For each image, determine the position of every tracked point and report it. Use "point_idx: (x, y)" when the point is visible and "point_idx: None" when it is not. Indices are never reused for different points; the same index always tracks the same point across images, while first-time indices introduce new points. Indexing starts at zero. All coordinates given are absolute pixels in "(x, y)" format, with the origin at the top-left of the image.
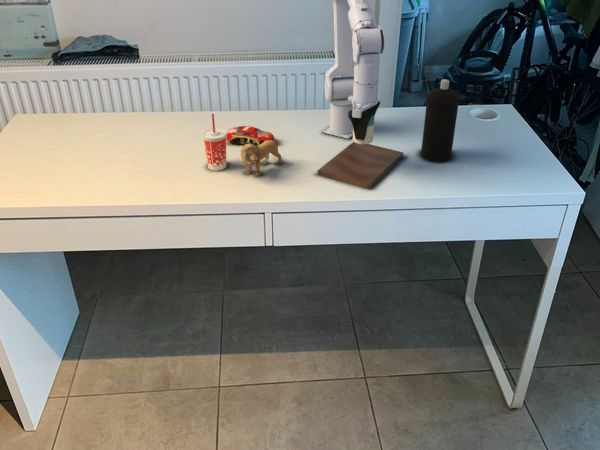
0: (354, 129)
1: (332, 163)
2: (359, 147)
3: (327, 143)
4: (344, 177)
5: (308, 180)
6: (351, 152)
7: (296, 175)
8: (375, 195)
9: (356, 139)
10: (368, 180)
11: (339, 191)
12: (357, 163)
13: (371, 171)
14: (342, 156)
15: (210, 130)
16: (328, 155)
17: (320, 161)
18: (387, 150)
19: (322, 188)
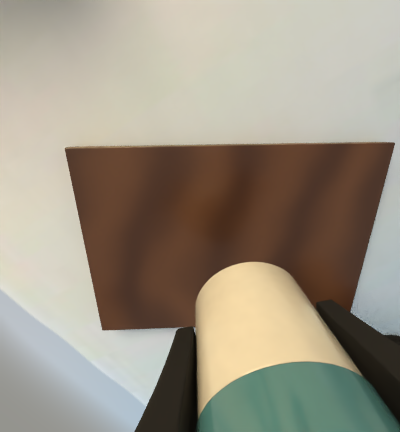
0: (153, 400)
1: (153, 168)
2: (334, 190)
3: (358, 15)
4: (89, 257)
5: (15, 140)
6: (280, 185)
7: (8, 69)
8: (90, 342)
9: (197, 316)
10: (122, 319)
11: (37, 264)
12: (205, 245)
13: (179, 302)
14: (230, 171)
15: None
16: (244, 93)
17: (177, 92)
18: (344, 280)
19: (10, 213)
